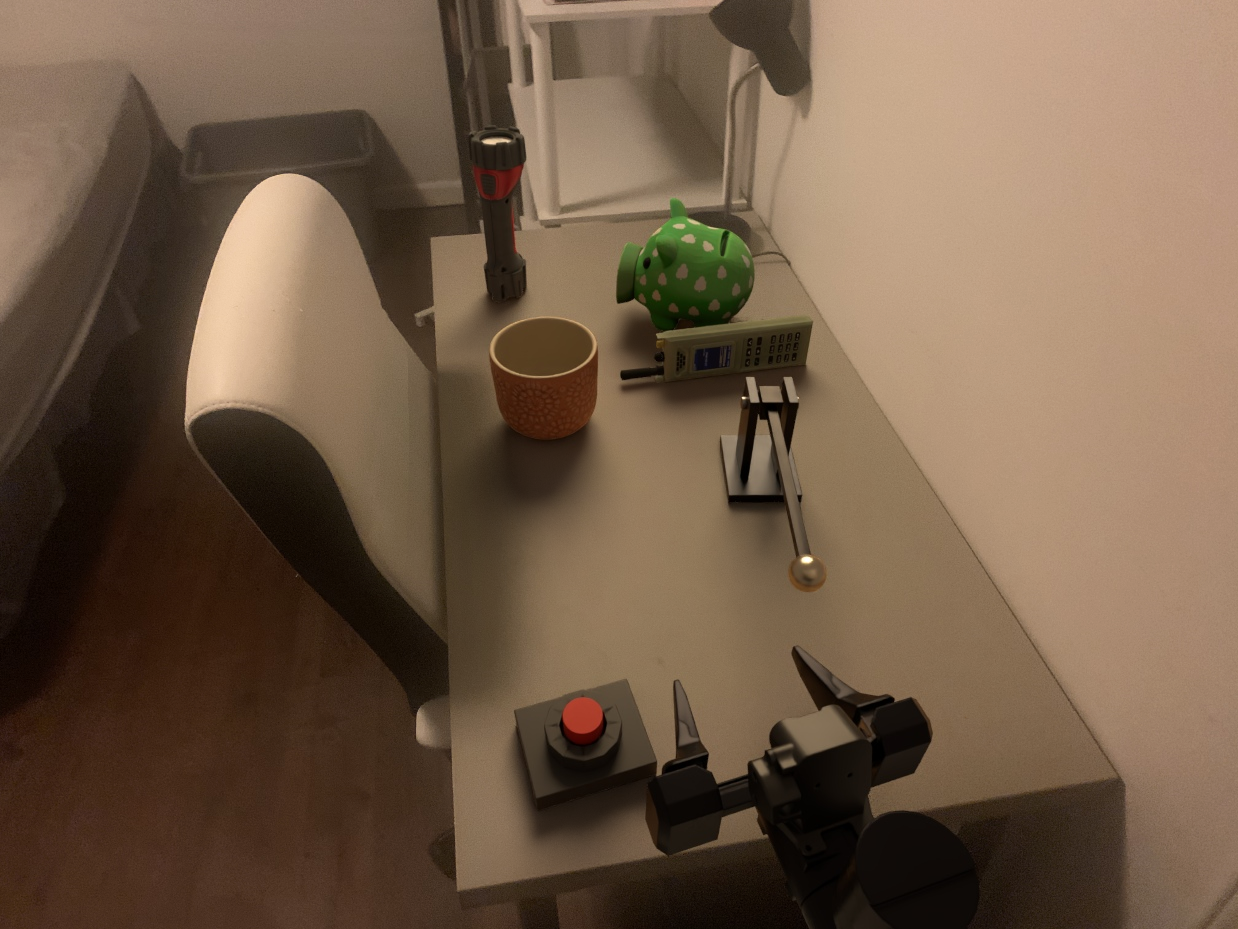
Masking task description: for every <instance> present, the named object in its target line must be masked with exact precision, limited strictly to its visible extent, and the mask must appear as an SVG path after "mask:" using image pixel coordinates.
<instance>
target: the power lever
mask: <svg viewBox="0 0 1238 929" xmlns="http://www.w3.org/2000/svg"><path fill="white" fill-rule="evenodd" d="M757 391H758V396H759V400H760V406H759V413H758V419H759V421H766V422H767V427H768V432H769V435H770V437H771V442H772V446H773V451H774V456H775V460H776V465H777V470H778V475H779V479H780V484H781V489H782V493H783V498H784V503H783V504H784V507H785V508H784V509H785V512H786V517H787V520H788V526H789V530H790V537H791V539H792V541H791V542H792V545H793V549H794V554H795V555H794V556H795V557H794V558H793V560H792V561H791V562H790V564H789V566H788V569H787V577H788V580H789V582H790V584H791V586H792V587H793V588H795V589H796V590H798V591H800V592H801V593H813V592H816V591H818V590H820V589H821V588H822V587H823V586H824V585H825V583H826V581H827V576H828V572H827V571H828V570H827V567H826V565H825V564H824V561H823V560H821V559H820V558H819V557H817V556H816V555H814V554H812V553H811V552H812V551H811V549H810V544H809V539H808V535H807V531H806V526H805V522H804V518H803V513H802V509H801V505H800V504H801V503H800V502H799V500H798V496H797V491H796V487H795V483H794V478H793V474H792V470H791V465H790V461H789V457H788V452H787V448H786V444H785V439H784V435H783V431H782V426H781V422H780V419H781V414H782V408H783V398H782V394H781V386H780V385H759V386H758V388H757Z"/></svg>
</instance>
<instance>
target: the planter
mask: <svg viewBox="0 0 1238 929" xmlns="http://www.w3.org/2000/svg"><path fill="white" fill-rule="evenodd" d="M488 349H489V350H488V354H489V355H488V356H489V357H488V358H489V366H490V371H491V378H492V382H493V386H494V392H495V398H496V403H497V406H498V410H499V412H500V415H501V417H502V418H503V420H504V421H505V423H506V424H507V425H508V427H510V428H511V429H512V430H514V431H515V432H517V433H519V434H520V435H522V436H525V437H527V438H530V439H535V440H542V441H543V440H544V441H545V440H546V441H547V440H548V441H550V440H557V439H562V438H564V437H567V436H570V435H572V434H574V433H576V432H578V431H579V430H580V429H582V428H583V427H585V425H586V424H587V423H588V422H589V420H591V418H592V416H593V414H594V412H595V408H596V406H597V402H598V401H597V400H598V381H599V380H598V377H599V348H598V342H597V338H596V337H595V335H594V333H593V332H592V331H591V330H590V329H589V328H588V327H586V326H585V325H583V324H582V323H580V322H578V321H575V320H572V319H568V318H564V317H559V316H535V317H529V318H525V319H521V320H518V321H515V322H513V323H511V324H508V325H507V326H505V327H503V328H501V329H500V330H499V331H498V332H497V333H496V334H495V335H494V337H493V338H492V339H491V341H490V344H489V348H488Z"/></svg>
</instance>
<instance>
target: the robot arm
mask: <svg viewBox="0 0 1238 929" xmlns="http://www.w3.org/2000/svg"><path fill="white" fill-rule="evenodd" d="M790 654H791V658H792V660H793V662H794V665H795V668H796V670H797V673H798V675H799V677H800V680H801V681H802V683H803V684H804V686H805V688H806V690H807V692H808V694H809V696H810V698H811V700H812V701H813V703H814V706H815V707H816V709H817V711H814V712H811V713H808V714H804V715H801V716H798V717H793V716H789V717H785V718H783V719H780V720H779V721H776V723H775V724H773V726H772V727H771V729H770V731H769V736H768V742H769V745H770V748H768V749H764V755H763V756H761V757H757V758H755V759H752V760H748V762H747V773H746V774H742V775H740V776H737V777H734V778H730V779H727V780H724V781H721V782H718V783H717V781H716V777H715V776H714V773H713V772H712V771H710V770H708V764H709V757H710V752H709V751H708V749H707V748H706V746H705V745H704V744H703V743H702V740H701V737H700V734H699V731H698V727H697V724H696V721H695V718H694V715H693V711H692V708H691V704H690V701H689V698H688V695H687V693H686V691H685V688H684V686H683V684H682V682H681V680H680V679H679V678H678V679H674V680H673V682H672V697H673V716H674V738H675V739H674V740H675V758H673V759H669V760H668V761H666V762H665V763H664V764H663V765H662V768H661V773H660V774H659V775H656V776H654V777H653V778H652V779H650V780H649V781H648V782H647V783H646V792H645V793H646V794H645V814H644V815H645V816H644V819H645V823H646V826H647V828H648V832H649V834H650V838H651V840H652V843H653V845H654V846H655V848H656V850H658V851H660V852H661V853H662V854H664V855H666V856H668V857H669V856H673V855H675V854H679V853H682V852H684V851H687V850H691V849H693V848H697V847H699V846H702V845H705V844H708V843H711V842H714V841H717V840H718V839H719V832H720V829H721V824H722V819H723V818H725V817H728V816H730V815H734V814H736V813H737V814H738V813H741V812H743V811H746V810H750V809H752V808H755V810H756V813H757V818H756V822H757V824H758V827H759V829H760V831H761V834H762V835H763V836H766V835H767V837H768V840H769V842H770V845H771V846H772V849H773V851H774V853H775V855H776V857H777V860H778V862H779V865H780V866H781V869H782V871H783V873H784V876H785V878H786V880H785V883H784V886H785V888H786V891H787V893H788V895H789V897H790V899H791V900H790V901H791V902H794V901H795V902H796V903H797V905H798V908H799V909H800V912H801V914H802V916H803V918H804V921H805V923H806V925H807V927H808V929H969V926H970V924H971V923H972V921H973V919H974V917H975V915H976V914H977V912H978V907H979V902H980V899H981V898H980V897H981V896H980V895H981V894H980V881H979V878H978V874H977V870H976V867H975V866H976V863H975V860H974V858H973V857H972V854H971V852H970V851H969V849H968V848H967V847H966V845H965V844H964V843H963V841H962V840H961V839H960V838H959V837H958V836H957V835H956V834H955V833H954V832H953V831H952V830H951V829H950V828H948V827H947V826H946V825H945V824H943V823H941V822H940V821H938V820H937V819H935V818H933V817H931V816H929V815H925V814H923V813H921V812H917V811H911V810H904V809H902V810H890V811H886V812H883V813H881V814H878V815H877V816H874V815H873V812H872V807H871V803H870V797H869V794H870V792H871V790H872V788H875V787H878V786H881V785H884V784H886V783H890V782H893V781H896V780H899V779H902V778H905V777H908V776H911V775H914V774H915V773H916V771H917V769H918V768H919V766H920V763H921V761H922V760H923V758H924V757H925V754H926V752H927V750H928V748H929V747H930V745H931V743H932V740H933V736H934V735H933V734H934V732H933V726H932V722H931V720H930V718H929V717H928V715H927V713H926V712H925V710H924V709H923V707H922V706H921V704H920V703H919V701H918V699H916V698H914V697H912V696H910V697H907V698H903V699H899V700H897V701H896V698H895V697H894V696H892V695H891V694H888V693H884V694H881V695H877V694H876V695H875V694H869V693H864V692H860V691H858V690H856V689H854V688H853V687H852V686H850V685H849V684H847V683H846V682H844V681H843V680H841V679H840V678H839V677H838V676H836V675H835V674H834V673H833V672H831V671H830V670H829V669H828V668H826V667H825V666H824V665H823V664H822V663H820V662H819V661H818V660H817V659H816V658H815V657H813V656H812V655H811V654H810V653H809V652H807V651H806V650H805V649H804V648H803V647H801V646H800V645H797V644H796V645H793V646H792V647H791V653H790Z"/></svg>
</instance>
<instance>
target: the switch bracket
mask: <svg viewBox="0 0 1238 929" xmlns="http://www.w3.org/2000/svg"><path fill="white" fill-rule="evenodd" d="M780 390H781V394H782V398H783V408H782V414H781V419H780V422H781V426H782V431H783V435H784V439H785V444H786V448H787V452H788V457H789V461H790V465H791V470H792V474H793V478H794V483H795V487H796V491H797V496H798V500H799V503H801V502H802V497H803V492H802V487H801V484H800V479H799V475H798V470H797V467H796V463H795V457H794V454H793V449H792V441H793V436H794V431H795V426H796V420H797V415H798V410H799V408H800V397H799V396H798V393H797V389H796V386H795V382H794V378H793V376H783V377H782V382H781V386H780ZM739 405H740V416H739V423H738V430H737V434H720V436H719V448H720V456H721V463H722V468H723V476H724V484H725V491H726V497H727V503H729V504H730V503H731V504H732V503H733V504H734V503H735V504H736V503H737V504H738V503H739V504H741V503H742V504H744V503H749V504H751V503H753V504H754V503H755V504H757V503H765V504H767V503H770V504H771V503H777V504H778V503H780V504H781V503H783V504H785V503H784V498H783V493H782V489H781V484H780V479H779V475H778V470H777V465H776V460H775V456H774V451H773V446H772V442H771V437H770V434H756V432H757V426H758V419H759V414H758V413H759V406H760V400H759V396H758V387H757V381H756V377H755V376H746V377H745V378H744V385H743V393H742V396H741V397H740V404H739Z"/></svg>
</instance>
